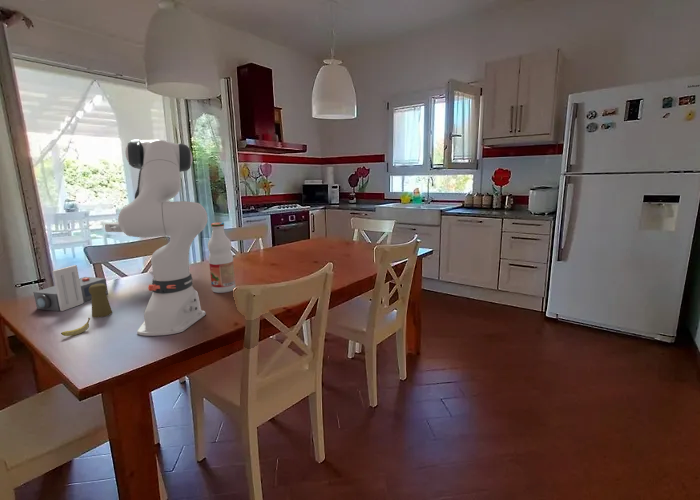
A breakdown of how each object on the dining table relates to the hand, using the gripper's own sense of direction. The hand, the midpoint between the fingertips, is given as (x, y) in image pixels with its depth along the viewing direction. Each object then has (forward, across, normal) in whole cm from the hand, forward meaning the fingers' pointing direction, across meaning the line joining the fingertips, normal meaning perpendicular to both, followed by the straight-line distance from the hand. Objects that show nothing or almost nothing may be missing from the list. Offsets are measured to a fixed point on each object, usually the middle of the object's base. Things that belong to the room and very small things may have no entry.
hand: (112, 229), depth 152 cm
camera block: (+15, -7, +26) cm, 31 cm away
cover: (+21, -1, +26) cm, 33 cm away
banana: (+38, +24, +27) cm, 53 cm away
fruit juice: (-10, +43, +26) cm, 52 cm away
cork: (+24, +17, +26) cm, 39 cm away
